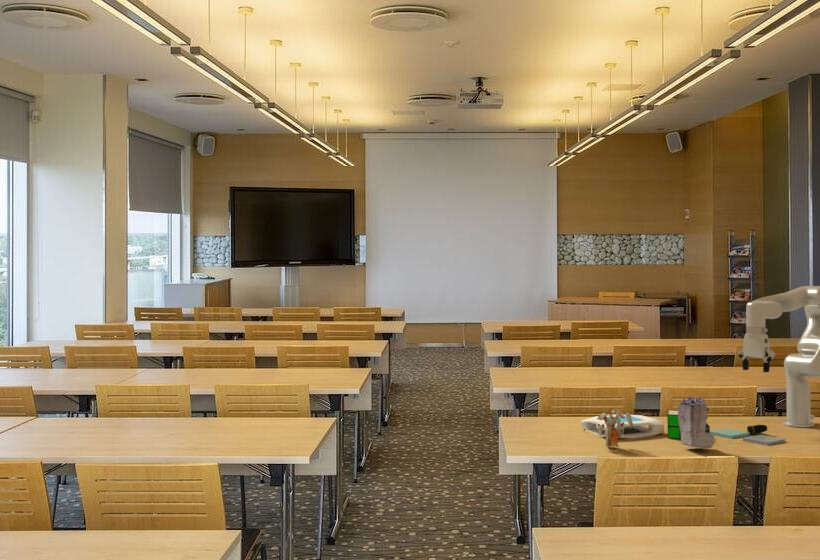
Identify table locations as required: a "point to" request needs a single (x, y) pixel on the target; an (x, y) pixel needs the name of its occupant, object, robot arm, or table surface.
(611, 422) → the voxel character
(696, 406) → the cell model
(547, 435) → the table surface
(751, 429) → the tape measure
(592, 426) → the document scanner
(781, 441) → the slate board
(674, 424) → the puzzle cube
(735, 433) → the teal board
